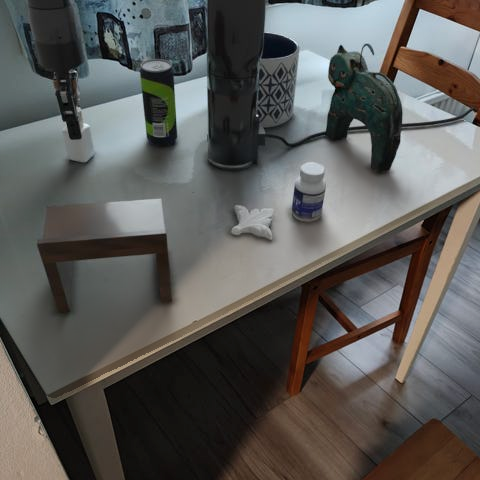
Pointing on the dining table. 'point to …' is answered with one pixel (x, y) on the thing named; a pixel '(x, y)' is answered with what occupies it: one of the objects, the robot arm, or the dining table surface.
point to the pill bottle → (309, 192)
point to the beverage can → (159, 101)
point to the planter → (277, 79)
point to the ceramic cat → (364, 106)
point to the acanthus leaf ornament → (253, 221)
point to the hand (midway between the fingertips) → (76, 131)
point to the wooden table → (102, 240)
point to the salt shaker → (79, 142)
